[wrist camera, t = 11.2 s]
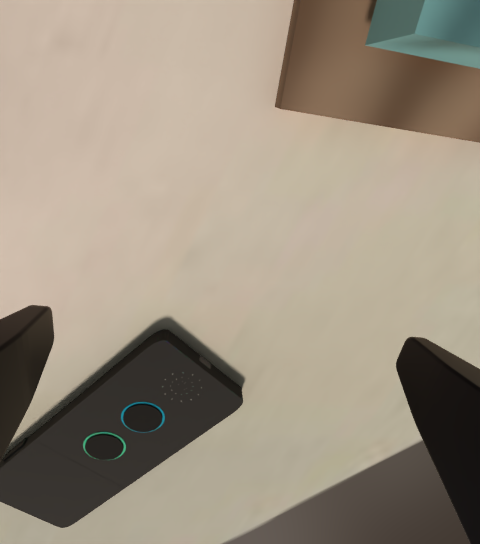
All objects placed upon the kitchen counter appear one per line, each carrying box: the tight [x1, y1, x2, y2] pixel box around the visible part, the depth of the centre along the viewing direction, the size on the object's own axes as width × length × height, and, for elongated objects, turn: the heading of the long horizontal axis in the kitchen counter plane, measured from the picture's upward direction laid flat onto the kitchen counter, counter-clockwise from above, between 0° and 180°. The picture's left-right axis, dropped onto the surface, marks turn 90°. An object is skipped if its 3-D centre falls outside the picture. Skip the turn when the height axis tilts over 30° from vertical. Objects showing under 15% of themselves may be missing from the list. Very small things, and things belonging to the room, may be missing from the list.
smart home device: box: [0, 330, 243, 528], centre depth 27 cm, size 8×2×20 cm
